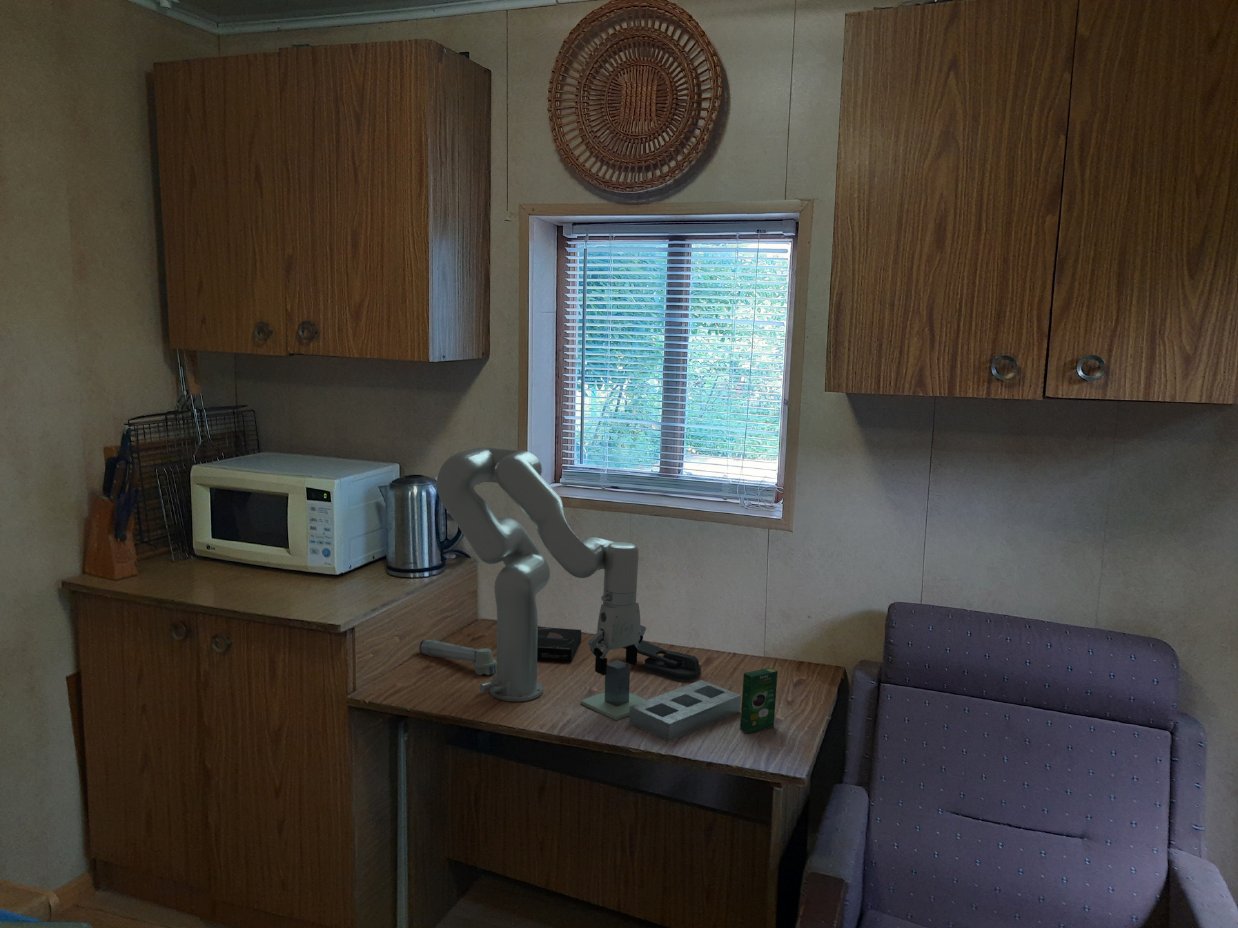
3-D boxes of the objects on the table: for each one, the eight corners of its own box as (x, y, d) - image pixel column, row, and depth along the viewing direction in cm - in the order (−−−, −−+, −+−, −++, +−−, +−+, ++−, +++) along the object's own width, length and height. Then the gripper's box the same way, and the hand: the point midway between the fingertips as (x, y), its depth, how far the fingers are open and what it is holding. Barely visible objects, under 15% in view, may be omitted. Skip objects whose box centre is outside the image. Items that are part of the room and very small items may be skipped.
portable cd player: (581, 642, 254) (581, 628, 253) (571, 664, 237) (571, 649, 237) (523, 638, 256) (523, 625, 255) (509, 660, 239) (509, 645, 238)
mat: (616, 720, 203) (616, 716, 203) (580, 703, 211) (580, 700, 211) (653, 706, 211) (653, 702, 211) (617, 690, 220) (617, 687, 219)
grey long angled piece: (431, 636, 243) (499, 644, 229) (433, 660, 244) (502, 670, 229) (416, 641, 239) (484, 649, 224) (418, 666, 240) (487, 676, 225)
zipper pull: (621, 630, 244) (706, 648, 232) (620, 653, 245) (705, 673, 233) (604, 639, 237) (691, 658, 224) (603, 663, 238) (690, 684, 225)
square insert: (616, 706, 208) (618, 668, 207) (604, 701, 211) (605, 664, 210) (628, 701, 211) (630, 664, 210) (616, 696, 214) (617, 659, 213)
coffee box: (766, 721, 204) (769, 665, 203) (775, 726, 202) (778, 669, 200) (739, 729, 200) (741, 672, 198) (747, 734, 198) (750, 676, 196)
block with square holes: (668, 741, 193) (669, 723, 192) (629, 723, 201) (629, 706, 201) (740, 711, 209) (740, 695, 209) (700, 695, 218) (701, 679, 217)
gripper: (603, 607, 199) (599, 682, 201) (657, 594, 211) (653, 665, 213) (580, 599, 204) (577, 672, 207) (634, 586, 216) (631, 655, 219)
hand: (616, 668), depth 210 cm, fingers open, 9 cm apart
